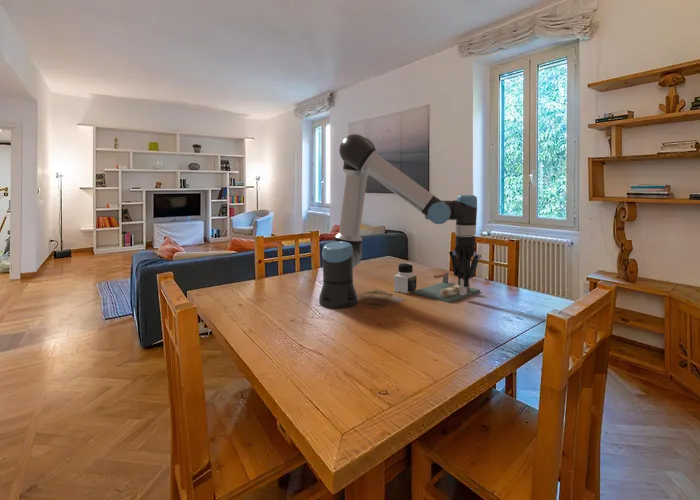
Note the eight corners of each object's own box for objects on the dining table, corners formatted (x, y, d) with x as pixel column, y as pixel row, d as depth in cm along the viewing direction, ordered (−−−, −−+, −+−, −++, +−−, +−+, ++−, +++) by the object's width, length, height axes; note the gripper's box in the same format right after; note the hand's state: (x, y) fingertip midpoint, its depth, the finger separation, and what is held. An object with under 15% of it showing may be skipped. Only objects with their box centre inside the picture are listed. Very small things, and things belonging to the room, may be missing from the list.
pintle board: (449, 302, 148) (450, 287, 147) (413, 293, 162) (413, 279, 161) (479, 291, 163) (480, 278, 162) (444, 283, 176) (444, 271, 175)
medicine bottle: (407, 294, 160) (408, 266, 158) (393, 291, 165) (393, 264, 163) (416, 290, 166) (417, 263, 164) (402, 287, 170) (402, 261, 168)
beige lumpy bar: (461, 287, 165) (461, 281, 164) (472, 289, 161) (472, 284, 161) (436, 295, 153) (436, 289, 153) (447, 298, 150) (447, 292, 149)
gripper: (486, 236, 145) (482, 295, 149) (456, 233, 155) (454, 289, 159) (475, 238, 140) (472, 299, 144) (445, 234, 150) (443, 292, 154)
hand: (462, 294), depth 151 cm, fingers closed
